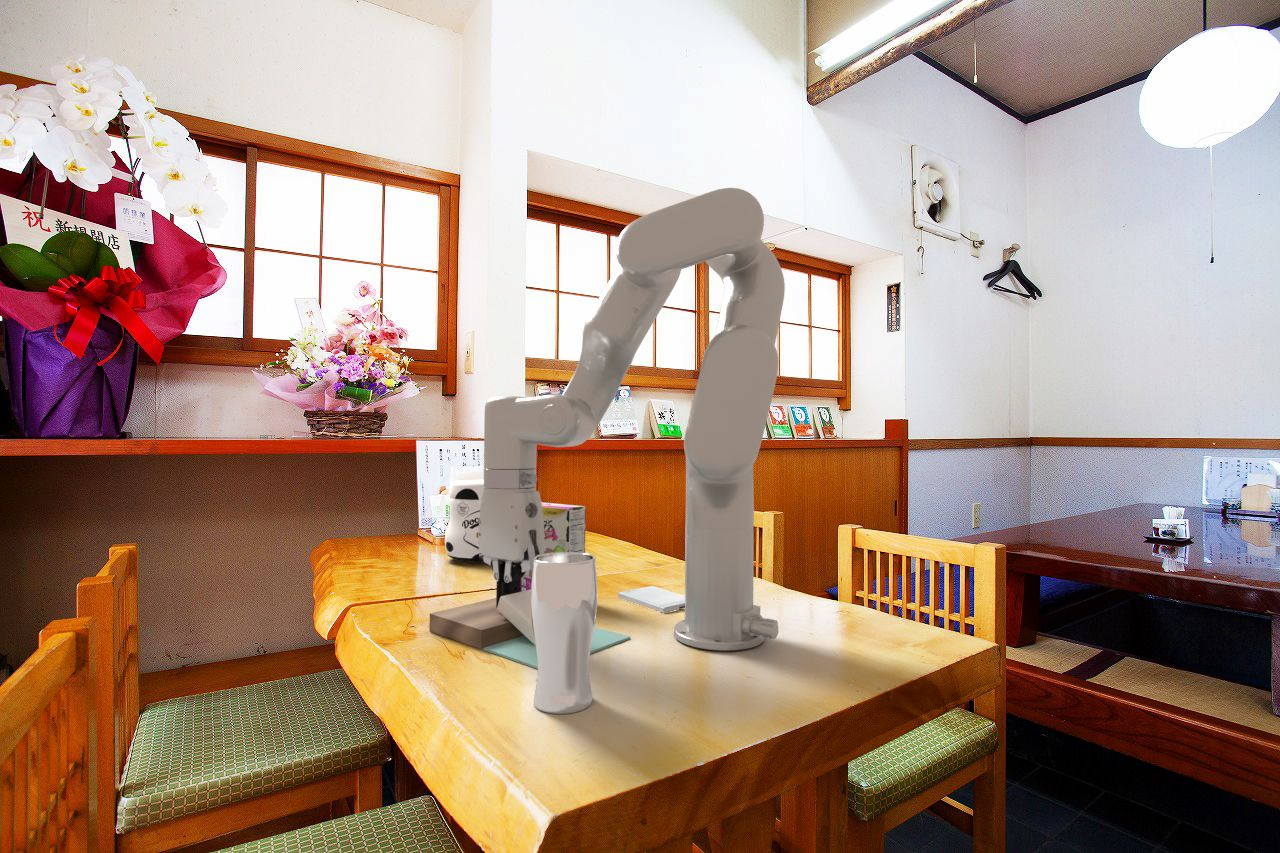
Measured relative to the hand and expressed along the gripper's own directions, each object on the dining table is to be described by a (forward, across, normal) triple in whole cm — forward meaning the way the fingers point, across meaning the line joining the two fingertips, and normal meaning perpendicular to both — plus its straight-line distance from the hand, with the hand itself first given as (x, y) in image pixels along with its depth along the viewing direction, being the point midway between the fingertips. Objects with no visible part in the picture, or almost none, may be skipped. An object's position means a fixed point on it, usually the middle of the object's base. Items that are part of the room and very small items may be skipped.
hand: (508, 607), depth 89 cm
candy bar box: (+3, +8, -15) cm, 17 cm away
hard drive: (+4, -7, -26) cm, 28 cm away
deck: (+3, +2, 0) cm, 3 cm away
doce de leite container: (+3, +47, -30) cm, 56 cm away
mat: (+3, -11, 0) cm, 11 cm away
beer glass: (+3, -24, +12) cm, 28 cm away
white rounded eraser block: (+1, -6, 0) cm, 6 cm away
